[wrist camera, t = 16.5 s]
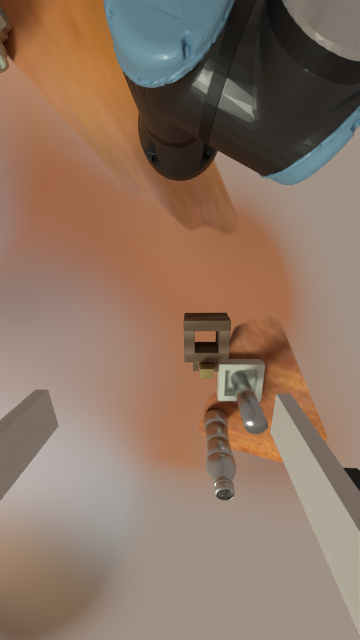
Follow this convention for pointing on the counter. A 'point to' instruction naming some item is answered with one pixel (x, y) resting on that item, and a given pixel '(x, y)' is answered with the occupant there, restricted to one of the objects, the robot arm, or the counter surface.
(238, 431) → the counter surface
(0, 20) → the ball valve
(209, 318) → the socket block
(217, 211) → the counter surface
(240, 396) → the grey metal peg
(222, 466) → the plastic bottle
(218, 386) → the tray
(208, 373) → the brass block
